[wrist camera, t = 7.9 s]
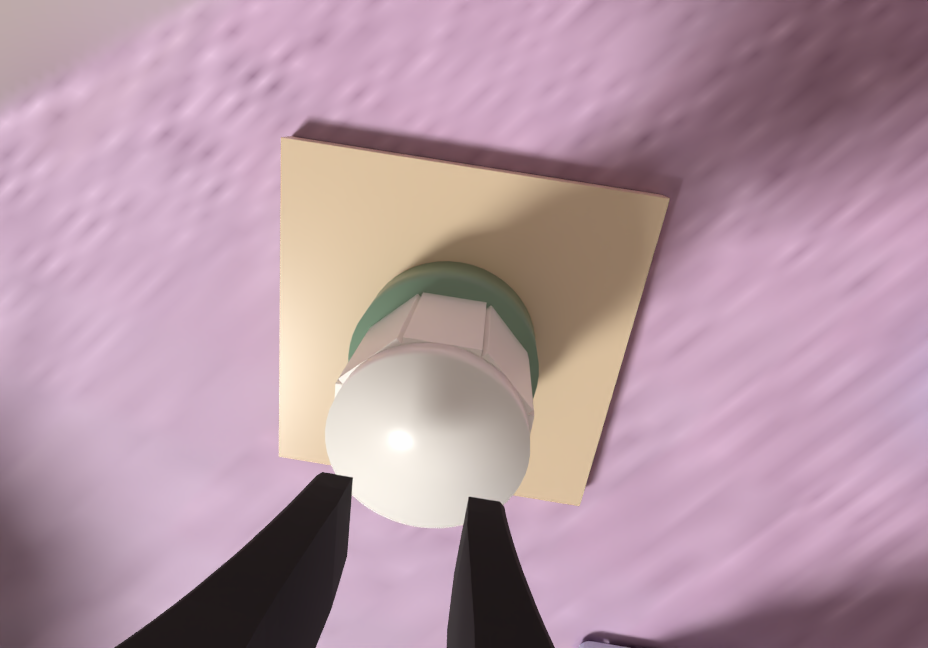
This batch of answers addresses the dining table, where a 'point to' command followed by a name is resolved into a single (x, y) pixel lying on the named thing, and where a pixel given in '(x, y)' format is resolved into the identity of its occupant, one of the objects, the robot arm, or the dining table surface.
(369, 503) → the cap
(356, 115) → the dining table surface
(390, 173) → the beige square tray
